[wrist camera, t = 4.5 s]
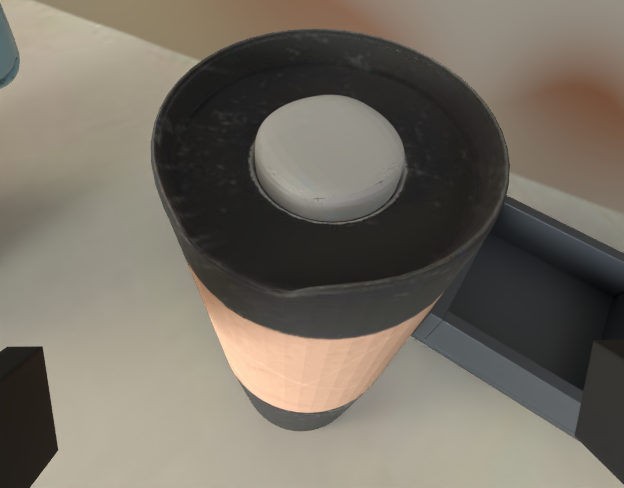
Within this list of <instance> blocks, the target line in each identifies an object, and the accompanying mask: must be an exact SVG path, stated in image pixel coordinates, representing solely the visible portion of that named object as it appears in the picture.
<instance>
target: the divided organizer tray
mask: <svg viewBox="0 0 624 488" xmlns="http://www.w3.org/2000/svg"><path fill="white" fill-rule="evenodd" d="M412 336H413V337H415V338H416V339H418V340H420V341H421V342H423V343H424V344H426V345H427V346H429V347H431V348H432V349H434V350H435V351H437V352H439V353H440V354H442V355H443V356H445V357H447V358H448V359H450V360H451V361H453V362H454V363H456V364H458V365H459V366H461V367H462V368H464V369H466V370H467V371H469V372H470V373H472V374H474V375H475V376H477V377H478V378H480V379H481V380H483V381H485V382H486V383H488V384H489V385H491V386H493V387H494V388H496V389H497V390H499V391H501V392H502V393H504V394H505V395H507V396H508V397H510V398H512V399H513V400H515V401H516V402H518V403H520V404H521V405H523V406H524V407H526V408H528V409H529V410H531V411H532V412H534V413H535V414H537V415H539V416H540V417H542V418H543V419H545V420H547V421H548V422H550V423H551V424H553V425H555V426H556V427H558V428H559V429H561V430H562V431H564V432H566V433H567V434H569V435H570V436H572V437H574V438H575V439H577V438H576V437H575V431H576V426H577V421H578V416H579V411H580V406H581V401H582V396H583V391H584V386H585V381H586V376H587V371H588V366H589V361H590V356H591V351H592V346H593V341H594V340H624V253H622V252H620V251H618V250H616V249H613V248H611V247H609V246H607V245H605V244H603V243H601V242H599V241H597V240H595V239H593V238H591V237H589V236H587V235H585V234H583V233H581V232H579V231H577V230H575V229H573V228H571V227H569V226H567V225H565V224H563V223H561V222H559V221H557V220H555V219H553V218H551V217H549V216H547V215H545V214H543V213H541V212H539V211H537V210H535V209H533V208H531V207H529V206H527V205H525V204H523V203H521V202H519V201H517V200H515V199H513V198H510V197H507V195H506V198H505V202H504V205H503V207H502V209H501V211H500V213H499V215H498V218H497V220H496V222H495V224H494V226H493V227H492V229H491V231H490V232H489V234H488V235H487V236H486V238H485V239H484V241H483V242H482V243H481V245H480V246H479V248H478V249H477V250H476V252H475V253H474V254H473V255H472V257H471V258H470V259H469V261H468V262H467V263H466V264H465V266H464V267H463V268H462V270H461V271H460V272H459V273H458V275H457V276H456V277H455V279H454V280H453V281H452V282H451V284H450V285H449V286H448V288H447V289H446V290H445V291H444V293H443V294H442V295H441V297H440V298H439V299H438V300H437V302H436V303H435V304H434V306H433V307H432V308H431V309H430V311H429V312H428V313H427V315H426V316H425V317H424V319H423V320H422V321H421V322H420V324H419V325H418V326H417V328H416V329H415V330H414V332H413V334H412ZM577 440H578V439H577ZM578 441H579V440H578Z"/></svg>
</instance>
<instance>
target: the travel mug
mask: <svg viewBox="0 0 624 488" xmlns="http://www.w3.org/2000/svg"><path fill="white" fill-rule="evenodd" d="M151 163H152V169H153V174H154V179H155V184H156V187H157V190H158V193H159V195H160V198H161V201H162V204H163V207H164V209H165V211H166V213H167V215H168V217H169V220H170V222H171V224H172V227H173V229H174V232H175V234H176V236H177V239H178V241H179V244H180V246H181V248H182V251H183V253H184V256H185V258H186V260H187V263H188V265H189V268H190V270H191V273H192V275H193V277H194V280H195V282H196V285H197V287H198V290H199V292H200V294H201V297H202V299H203V302H204V304H205V307H206V309H207V311H208V314H209V316H210V319H211V321H212V324H213V326H214V328H215V331H216V333H217V336H218V338H219V341H220V343H221V345H222V348H223V350H224V353H225V355H226V358H227V360H228V362H229V365H230V367H231V369H232V370H233V372H234V374H235V375H236V377H237V379H238V380H239V382H240V384H241V385H242V387H243V389H244V390H245V392H246V394H247V395H248V397H249V399H250V400H251V402H252V404H253V405H254V406H255V408H256V409H257V410H258V412H259V413H260V414H261V415H262V416H263V417H265V418H266V419H267V420H269V421H270V422H271V423H273V424H275V425H277V426H279V427H281V428H284V429H288V430H293V431H309V430H314V429H318V428H320V427H323V426H325V425H327V424H329V423H330V422H332V421H334V420H335V419H336V418H337V417H339V416H340V415H341V414H342V413H343V412H344V411H345V410H346V409H347V408H349V407H350V406H351V405H352V404H353V403H354V402H355V401H356V400H357V399H358V398H359V397H360V396H361V395H362V394H363V393H364V392H365V391H366V390H367V389H368V388H369V387H370V386H371V385H372V384H373V383H374V382H375V380H376V379H377V378H378V377H379V375H380V374H381V373H382V371H383V370H384V369H385V368H386V366H387V365H388V364H389V362H390V361H391V360H392V358H393V357H394V356H395V355H396V353H397V352H398V351H399V349H400V348H401V347H402V346H403V344H404V343H405V342H406V340H407V339H408V338H409V337H410V335H411V334H412V333H413V331H414V330H415V329H416V328H417V326H418V325H419V324H420V322H421V321H422V320H423V319H424V317H425V316H426V315H427V313H428V312H429V311H430V309H431V308H432V307H433V306H434V304H435V303H436V302H437V300H438V299H439V298H440V297H441V295H442V294H443V293H444V291H445V290H446V289H447V288H448V286H449V285H450V284H451V282H452V281H453V280H454V279H455V277H456V276H457V275H458V273H459V272H460V271H461V270H462V268H463V267H464V266H465V264H466V263H467V262H468V261H469V259H470V258H471V257H472V255H473V254H474V253H475V252H476V250H477V249H478V248H479V246H480V245H481V243H482V242H483V241H484V239H485V238H486V236H487V235H488V234H489V232H490V231H491V229H492V227H493V226H494V224H495V222H496V220H497V218H498V215H499V213H500V211H501V209H502V207H503V205H504V202H505V198H506V194H507V190H508V185H509V168H510V167H509V166H510V164H509V157H508V149H507V145H506V142H505V139H504V136H503V133H502V130H501V128H500V127H499V124H498V122H497V120H496V118H495V116H494V115H493V113H492V112H491V110H490V109H489V107H488V106H487V105H486V103H485V102H484V101H483V99H482V98H481V97H480V96H479V95H478V94H477V93H476V91H475V90H474V89H472V88H471V87H470V86H469V85H468V84H467V83H466V82H465V81H464V80H463V79H462V78H460V77H459V76H458V75H456V74H455V73H454V72H452V71H451V70H450V69H448V68H447V67H445V66H444V65H442V64H441V63H439V62H437V61H436V60H434V59H432V58H431V57H428V56H427V55H425V54H423V53H420V52H419V51H416V50H414V49H412V48H409V47H407V46H404V45H402V44H399V43H396V42H393V41H390V40H387V39H384V38H380V37H376V36H371V35H367V34H363V33H357V32H351V31H344V30H331V29H301V30H288V31H281V32H275V33H269V34H265V35H261V36H256V37H253V38H249V39H246V40H243V41H240V42H237V43H235V44H233V45H230V46H228V47H226V48H223V49H221V50H219V51H217V52H216V53H214V54H212V55H210V56H209V57H207V58H205V59H204V60H202V61H201V62H200V63H198V64H197V65H195V66H194V67H193V68H191V69H190V70H189V71H188V72H187V73H186V74H185V75H184V76H183V77H182V78H181V79H180V80H179V81H178V82H177V83H176V84H175V86H174V87H173V88H172V89H171V91H170V92H169V93H168V95H167V97H166V98H165V100H164V102H163V104H162V105H161V107H160V110H159V112H158V115H157V118H156V121H155V123H154V128H153V134H152V140H151Z"/></svg>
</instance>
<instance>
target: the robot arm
mask: <svg viewBox="0 0 624 488" xmlns="http://www.w3.org/2000/svg"><path fill="white" fill-rule="evenodd" d="M19 64H20V57H19V51H18V48H17V45H16V42H15V39H14V36H13V34H12V31H11V29H10V26H9V23H8V21H7V18H6V16H5V13H4V11H3V8H2V6H1V4H0V89H1V88H3V87H5V86H7V85H8V84H9V83H10V82H12V81H13V79H14V78H15V77H16V75H17V73H18V70H19ZM575 437H576V438H577V439H578V440H579V441H580V442H581V443H582V444H583V445H584V446H585V447H586V448H587V449H588V450H589V451H590V452H592V453H593V454H594V455H595V456H596V457H597V458H598V459H599V460H600V461H601V462H602V463H603V464H604V465H605V466H606V467H607V468H608V469H609V470H610V471H611V472H612V473H613V474H614V475H615V476H616V477H617V478H618V479H619V480H620V481H621V482H622V483H623V484H624V340H594V341H593V346H592V351H591V356H590V361H589V366H588V371H587V376H586V381H585V386H584V391H583V396H582V401H581V406H580V411H579V416H578V421H577V426H576V431H575ZM57 451H58V446H57V439H56V433H55V426H54V420H53V413H52V406H51V400H50V393H49V386H48V380H47V373H46V366H45V360H44V353H43V347H6V348H5V349H3V350H2V351H1V352H0V488H30V487H31V485H32V484H33V483H34V481H35V480H36V479H37V477H38V476H39V475H40V473H41V472H42V471H43V470H44V468H45V467H46V466H47V464H48V463H49V462H50V460H51V459H52V458H53V456H54V455H55V454H56V452H57Z"/></svg>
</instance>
